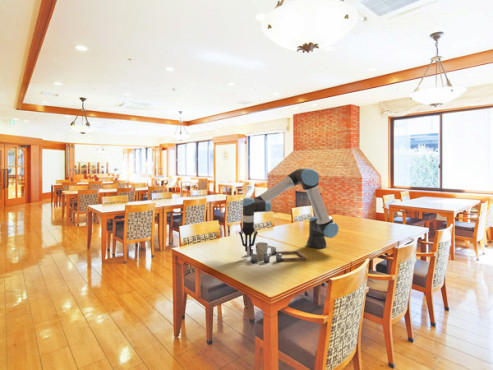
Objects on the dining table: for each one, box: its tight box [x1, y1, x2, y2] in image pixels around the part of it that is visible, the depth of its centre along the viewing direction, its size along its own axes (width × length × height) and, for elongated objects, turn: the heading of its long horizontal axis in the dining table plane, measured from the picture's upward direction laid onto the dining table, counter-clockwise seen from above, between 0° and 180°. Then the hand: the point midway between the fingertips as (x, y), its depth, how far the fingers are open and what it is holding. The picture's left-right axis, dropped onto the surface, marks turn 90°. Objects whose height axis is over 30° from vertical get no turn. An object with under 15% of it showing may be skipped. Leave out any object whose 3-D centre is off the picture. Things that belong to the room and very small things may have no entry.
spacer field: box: [249, 246, 283, 264], centre depth 186 cm, size 20×19×5 cm
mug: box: [255, 241, 273, 261], centre depth 186 cm, size 8×13×10 cm, turn 111°
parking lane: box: [276, 250, 307, 262], centre depth 189 cm, size 16×16×2 cm
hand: (248, 256), depth 184 cm, fingers closed
